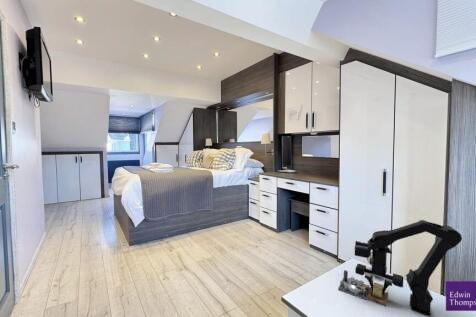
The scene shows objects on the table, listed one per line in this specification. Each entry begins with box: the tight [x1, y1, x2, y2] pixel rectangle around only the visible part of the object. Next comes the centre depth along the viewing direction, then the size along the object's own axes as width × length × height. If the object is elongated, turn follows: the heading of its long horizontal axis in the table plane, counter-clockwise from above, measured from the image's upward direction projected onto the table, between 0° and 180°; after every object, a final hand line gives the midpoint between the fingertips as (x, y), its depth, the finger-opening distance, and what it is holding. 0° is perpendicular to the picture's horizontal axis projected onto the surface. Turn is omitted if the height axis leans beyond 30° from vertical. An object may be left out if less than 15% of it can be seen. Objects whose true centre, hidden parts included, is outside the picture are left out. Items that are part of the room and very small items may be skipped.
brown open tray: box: [366, 286, 389, 307], centre depth 105 cm, size 7×9×2 cm
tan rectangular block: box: [373, 281, 384, 299], centre depth 105 cm, size 4×5×4 cm
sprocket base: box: [337, 279, 370, 301], centre depth 112 cm, size 12×12×1 cm
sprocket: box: [339, 270, 369, 295], centre depth 112 cm, size 12×12×6 cm
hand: (377, 292), depth 105 cm, fingers closed on tan rectangular block, 3 cm apart
